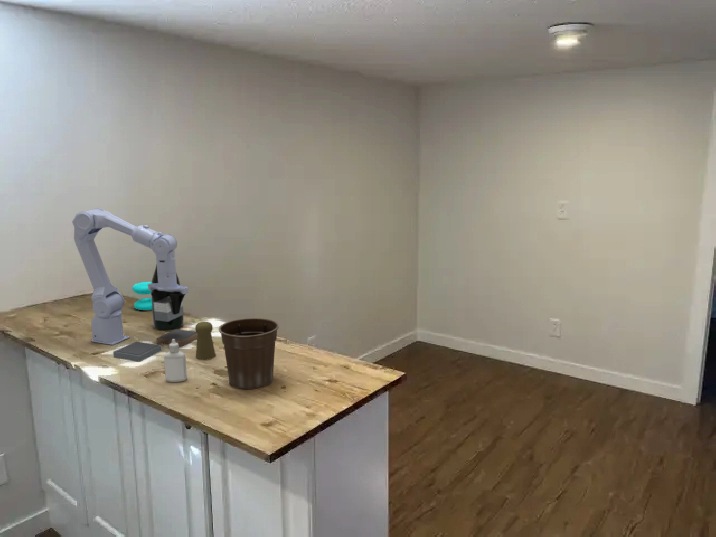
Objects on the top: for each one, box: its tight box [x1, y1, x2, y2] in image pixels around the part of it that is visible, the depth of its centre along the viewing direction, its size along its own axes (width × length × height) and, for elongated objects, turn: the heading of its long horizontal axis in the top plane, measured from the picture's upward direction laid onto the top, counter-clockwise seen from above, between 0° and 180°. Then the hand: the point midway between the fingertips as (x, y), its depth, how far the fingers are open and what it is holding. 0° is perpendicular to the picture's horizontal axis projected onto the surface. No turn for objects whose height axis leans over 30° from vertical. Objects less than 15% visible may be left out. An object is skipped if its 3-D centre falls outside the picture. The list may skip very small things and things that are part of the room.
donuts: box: [132, 281, 152, 311], centre depth 227 cm, size 10×10×10 cm
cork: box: [194, 321, 216, 361], centre depth 176 cm, size 6×6×11 cm
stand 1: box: [113, 341, 163, 363], centre depth 178 cm, size 10×10×2 cm
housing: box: [154, 296, 185, 322], centre depth 186 cm, size 5×8×6 cm, turn 159°
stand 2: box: [156, 328, 197, 348], centre depth 191 cm, size 10×10×2 cm
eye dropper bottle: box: [163, 339, 188, 383], centre depth 158 cm, size 4×6×12 cm
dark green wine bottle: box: [150, 263, 185, 331], centre depth 202 cm, size 10×10×33 cm
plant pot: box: [218, 317, 280, 390], centre depth 157 cm, size 16×16×16 cm
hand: (169, 312), depth 186 cm, fingers closed on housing, 5 cm apart
